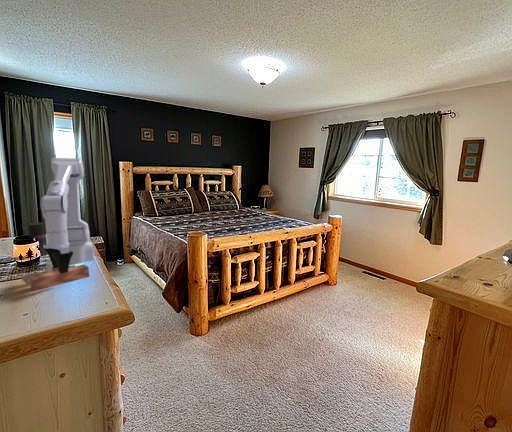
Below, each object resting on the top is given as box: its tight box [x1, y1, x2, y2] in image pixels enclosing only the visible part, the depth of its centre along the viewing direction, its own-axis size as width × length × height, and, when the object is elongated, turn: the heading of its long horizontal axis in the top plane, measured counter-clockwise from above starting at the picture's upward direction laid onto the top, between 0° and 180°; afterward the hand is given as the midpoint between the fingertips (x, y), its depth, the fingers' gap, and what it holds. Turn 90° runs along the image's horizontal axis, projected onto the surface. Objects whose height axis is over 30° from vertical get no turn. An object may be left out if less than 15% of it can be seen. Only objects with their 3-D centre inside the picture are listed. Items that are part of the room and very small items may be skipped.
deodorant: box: [27, 222, 48, 257], centre depth 127 cm, size 6×6×15 cm
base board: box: [20, 264, 76, 285], centre depth 102 cm, size 17×11×1 cm, turn 139°
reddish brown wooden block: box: [29, 264, 90, 292], centre depth 95 cm, size 16×4×5 cm, turn 143°
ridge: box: [42, 260, 59, 273], centre depth 102 cm, size 4×9×4 cm, turn 49°
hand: (60, 269), depth 94 cm, fingers open, 7 cm apart
